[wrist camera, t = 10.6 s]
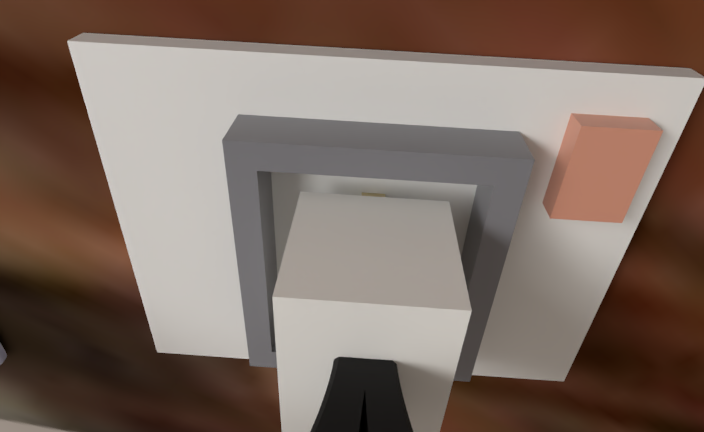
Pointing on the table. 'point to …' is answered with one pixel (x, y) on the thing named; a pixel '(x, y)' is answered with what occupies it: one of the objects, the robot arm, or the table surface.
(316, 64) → the socket plate
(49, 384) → the table surface
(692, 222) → the table surface
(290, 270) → the plug
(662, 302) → the table surface
